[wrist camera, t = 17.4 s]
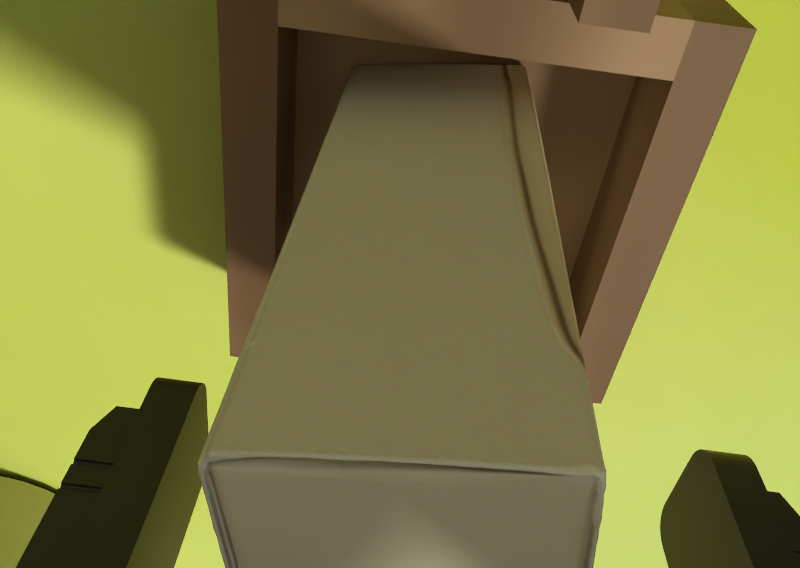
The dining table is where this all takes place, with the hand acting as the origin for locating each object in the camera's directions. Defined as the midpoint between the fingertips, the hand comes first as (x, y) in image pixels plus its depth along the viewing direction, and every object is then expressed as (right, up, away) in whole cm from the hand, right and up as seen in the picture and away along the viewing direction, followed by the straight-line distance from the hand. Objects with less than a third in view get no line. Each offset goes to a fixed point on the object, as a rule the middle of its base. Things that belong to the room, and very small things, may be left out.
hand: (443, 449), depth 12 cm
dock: (+1, +7, +7) cm, 10 cm away
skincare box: (0, +6, +7) cm, 9 cm away
